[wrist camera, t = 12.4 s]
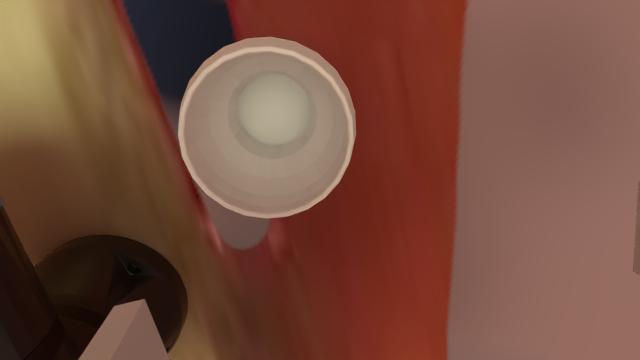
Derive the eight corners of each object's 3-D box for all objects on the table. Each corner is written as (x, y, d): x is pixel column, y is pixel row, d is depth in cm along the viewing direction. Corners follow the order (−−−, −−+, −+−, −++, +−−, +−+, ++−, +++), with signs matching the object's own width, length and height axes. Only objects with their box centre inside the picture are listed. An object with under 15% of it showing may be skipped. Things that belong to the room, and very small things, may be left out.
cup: (203, 143, 35) (148, 200, 21) (232, 27, 33) (191, 2, 18) (312, 175, 37) (328, 247, 23) (348, 67, 35) (392, 73, 20)
